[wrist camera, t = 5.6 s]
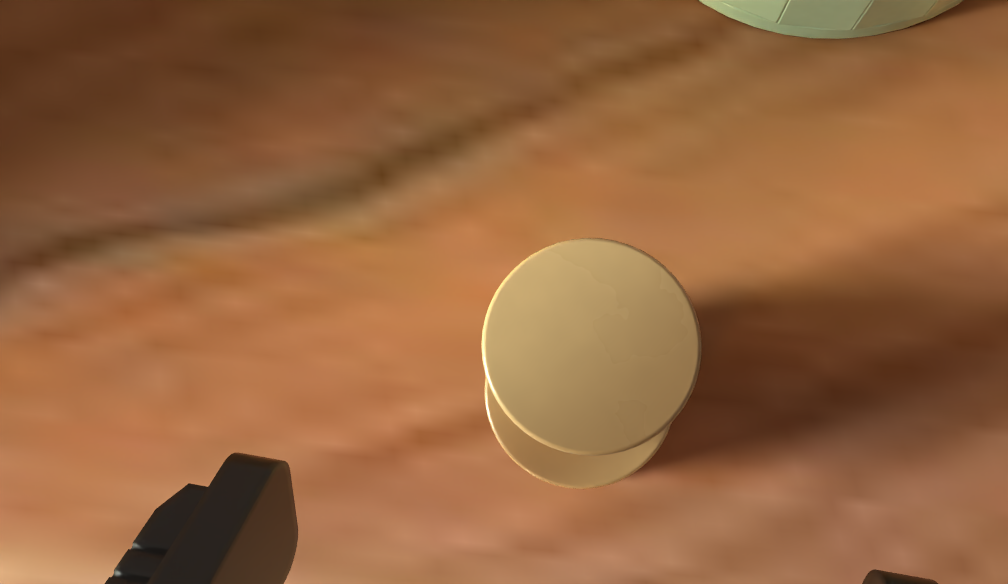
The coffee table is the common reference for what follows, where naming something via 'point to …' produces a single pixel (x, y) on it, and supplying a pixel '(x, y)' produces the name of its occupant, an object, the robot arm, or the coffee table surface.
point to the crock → (831, 15)
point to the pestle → (588, 361)
